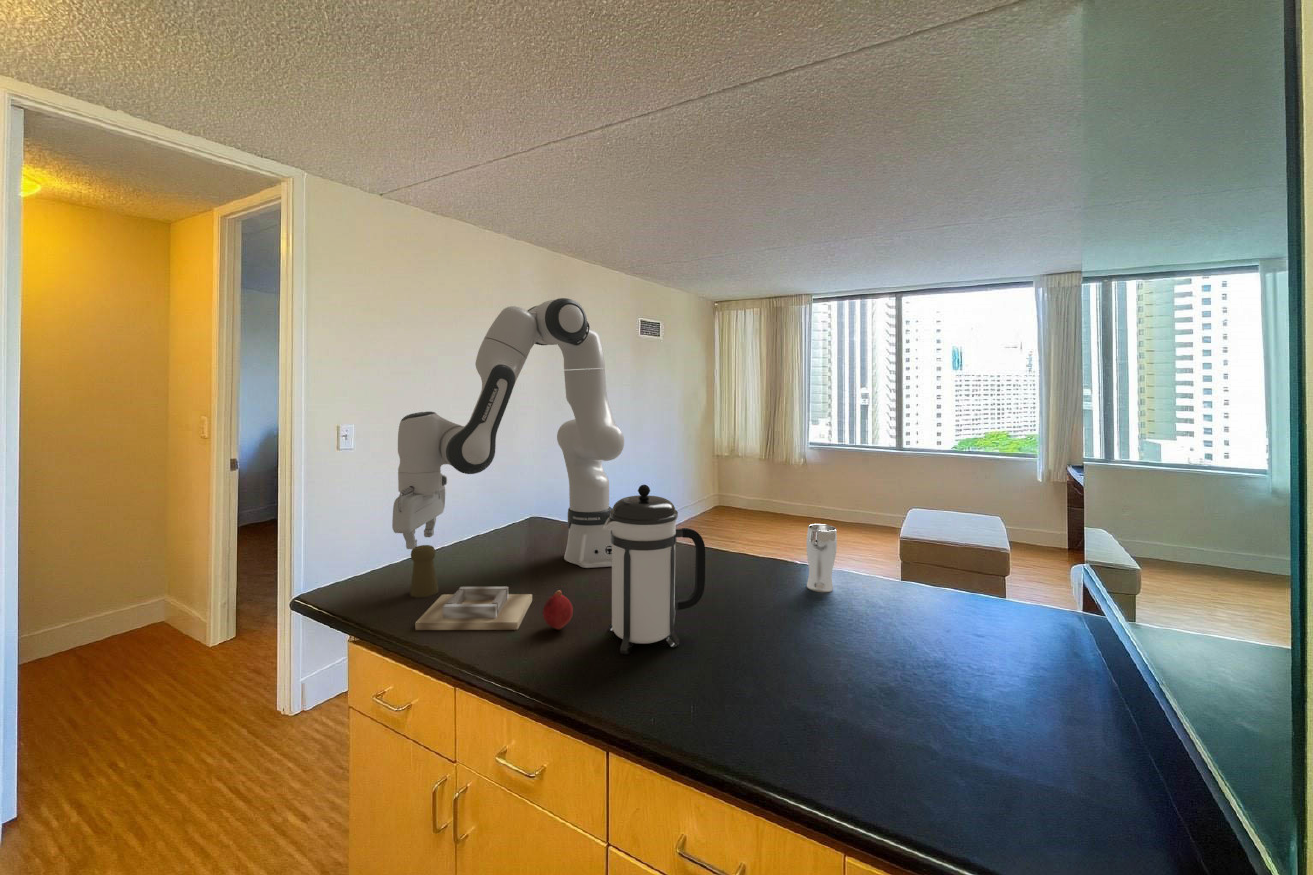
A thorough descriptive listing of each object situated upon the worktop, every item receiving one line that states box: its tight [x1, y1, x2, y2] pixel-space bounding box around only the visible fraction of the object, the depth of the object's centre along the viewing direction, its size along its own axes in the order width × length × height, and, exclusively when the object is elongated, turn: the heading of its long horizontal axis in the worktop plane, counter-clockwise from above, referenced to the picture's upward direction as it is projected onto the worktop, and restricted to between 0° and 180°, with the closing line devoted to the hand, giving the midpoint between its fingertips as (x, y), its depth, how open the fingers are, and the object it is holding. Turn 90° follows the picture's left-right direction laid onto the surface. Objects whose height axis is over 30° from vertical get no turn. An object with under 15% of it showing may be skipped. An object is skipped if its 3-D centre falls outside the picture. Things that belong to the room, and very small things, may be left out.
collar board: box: [414, 586, 533, 631], centre depth 109 cm, size 20×14×4 cm
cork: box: [409, 544, 439, 599], centre depth 121 cm, size 6×6×11 cm
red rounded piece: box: [542, 589, 574, 631], centre depth 103 cm, size 6×6×8 cm
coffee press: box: [603, 484, 706, 655], centre depth 99 cm, size 17×16×30 cm
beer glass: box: [806, 523, 838, 594], centre depth 125 cm, size 7×7×15 cm
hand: (420, 542), depth 120 cm, fingers open, 8 cm apart
